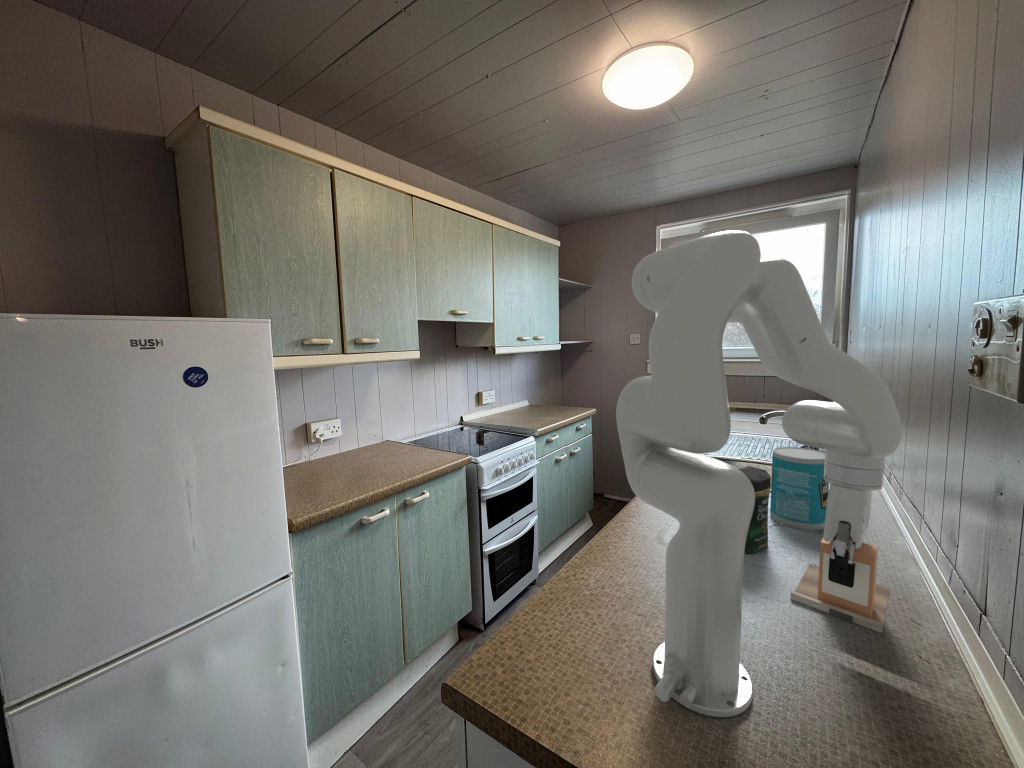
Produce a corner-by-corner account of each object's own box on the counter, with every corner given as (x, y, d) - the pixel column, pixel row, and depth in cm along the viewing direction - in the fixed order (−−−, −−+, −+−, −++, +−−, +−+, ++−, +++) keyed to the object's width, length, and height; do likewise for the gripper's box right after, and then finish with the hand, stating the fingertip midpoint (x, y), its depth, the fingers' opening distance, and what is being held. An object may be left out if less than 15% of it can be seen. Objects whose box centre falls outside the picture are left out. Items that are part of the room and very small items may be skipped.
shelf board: (881, 640, 63) (882, 626, 63) (789, 605, 71) (790, 593, 71) (889, 594, 74) (890, 582, 74) (809, 569, 83) (810, 558, 82)
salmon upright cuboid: (870, 621, 65) (875, 557, 64) (817, 602, 70) (820, 542, 69) (873, 608, 68) (878, 546, 67) (822, 590, 73) (825, 533, 72)
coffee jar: (751, 563, 85) (754, 478, 83) (715, 547, 92) (717, 468, 90) (774, 550, 90) (777, 469, 88) (739, 536, 97) (741, 461, 95)
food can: (761, 510, 111) (763, 446, 110) (808, 511, 110) (811, 446, 108) (785, 530, 100) (788, 459, 98) (838, 531, 98) (842, 459, 96)
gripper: (833, 459, 76) (826, 546, 77) (814, 480, 64) (807, 583, 65) (887, 468, 70) (879, 561, 72) (877, 492, 58) (868, 604, 60)
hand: (845, 572), depth 69 cm, fingers open, 9 cm apart
